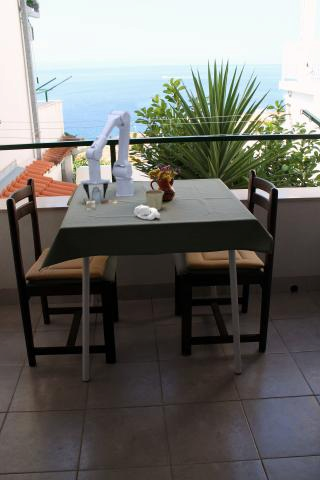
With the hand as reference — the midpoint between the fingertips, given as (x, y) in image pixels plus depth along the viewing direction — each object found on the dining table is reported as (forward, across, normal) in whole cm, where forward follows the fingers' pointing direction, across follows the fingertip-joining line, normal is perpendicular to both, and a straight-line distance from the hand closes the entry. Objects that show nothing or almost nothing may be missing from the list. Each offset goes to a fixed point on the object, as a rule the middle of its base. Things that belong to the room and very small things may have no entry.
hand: (96, 198), depth 252 cm
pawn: (+2, 0, 0) cm, 2 cm away
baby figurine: (+3, +24, -28) cm, 37 cm away
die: (+3, -3, -10) cm, 11 cm away
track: (+3, +2, 0) cm, 3 cm away
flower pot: (+3, +28, -16) cm, 32 cm away
